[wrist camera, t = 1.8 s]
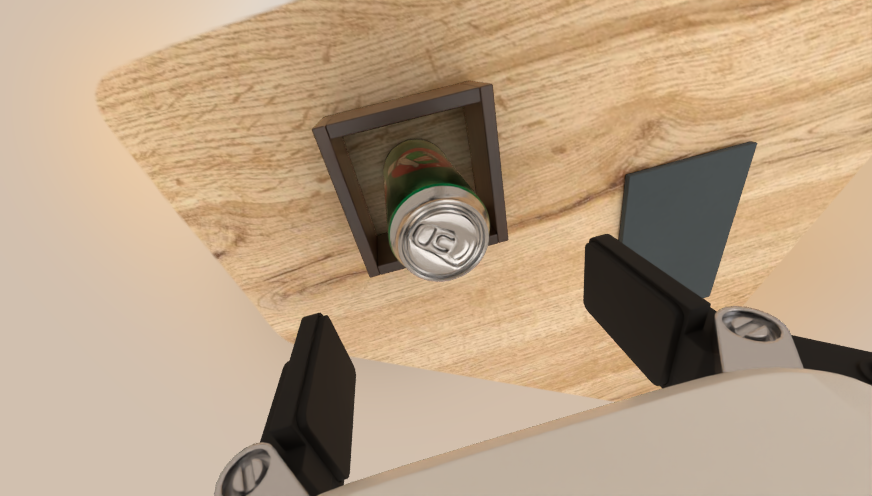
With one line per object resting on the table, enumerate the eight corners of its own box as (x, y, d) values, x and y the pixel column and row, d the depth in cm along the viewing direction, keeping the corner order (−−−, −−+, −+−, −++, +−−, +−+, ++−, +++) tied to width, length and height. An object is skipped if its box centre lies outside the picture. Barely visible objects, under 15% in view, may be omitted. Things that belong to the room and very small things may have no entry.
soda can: (428, 210, 27) (462, 300, 17) (372, 186, 25) (371, 269, 15) (458, 156, 25) (517, 218, 15) (400, 125, 23) (420, 171, 13)
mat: (625, 174, 28) (630, 176, 28) (750, 141, 29) (757, 142, 28) (609, 320, 37) (613, 323, 37) (705, 293, 38) (709, 296, 37)
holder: (323, 116, 22) (311, 128, 18) (470, 80, 22) (493, 83, 18) (370, 245, 28) (369, 278, 23) (488, 213, 28) (508, 240, 24)
